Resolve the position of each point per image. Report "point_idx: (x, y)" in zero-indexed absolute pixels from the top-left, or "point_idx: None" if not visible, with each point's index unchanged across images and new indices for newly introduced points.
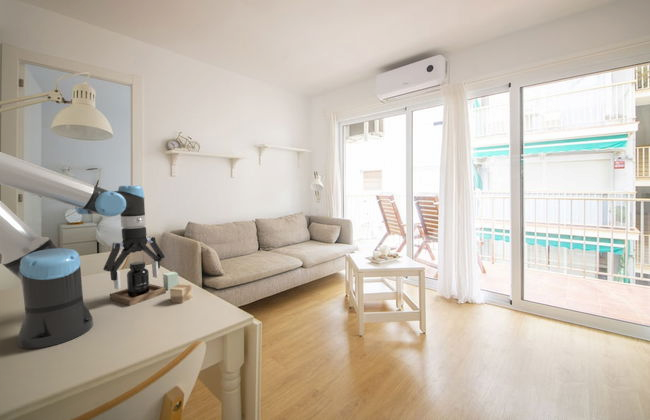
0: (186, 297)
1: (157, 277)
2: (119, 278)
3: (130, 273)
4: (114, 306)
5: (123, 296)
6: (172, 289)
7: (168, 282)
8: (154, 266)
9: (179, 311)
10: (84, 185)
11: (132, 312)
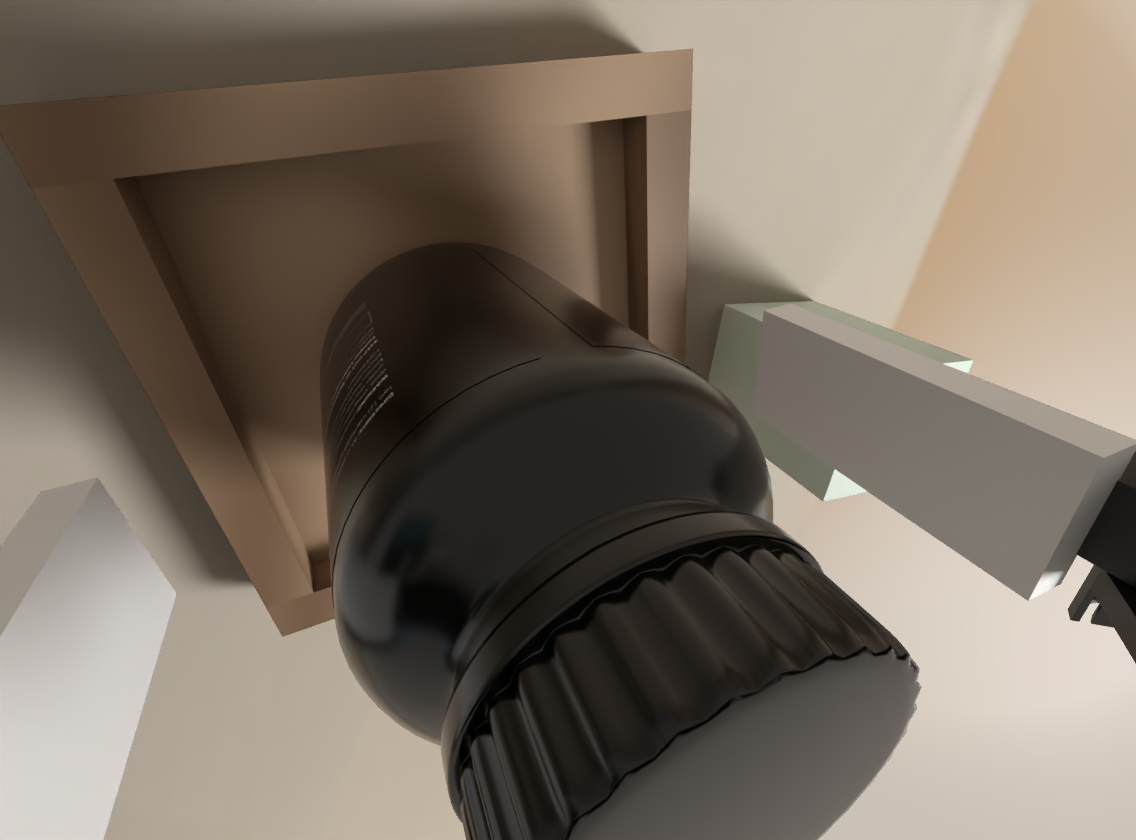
0: None
1: (763, 411)
2: (92, 820)
3: (398, 723)
4: (114, 500)
5: (237, 467)
6: None
7: (763, 449)
8: (929, 472)
9: None
10: None
11: (273, 729)
